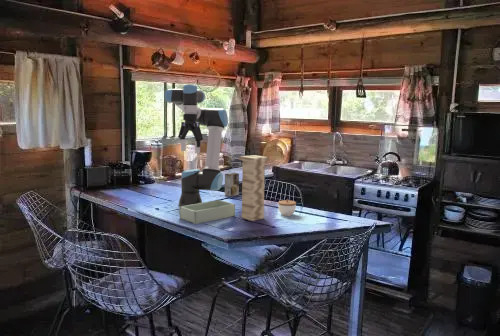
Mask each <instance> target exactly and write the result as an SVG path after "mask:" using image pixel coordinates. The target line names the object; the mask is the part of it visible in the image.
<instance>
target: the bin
mask: <svg viewBox="0 0 500 336" xmlns="http://www.w3.org/2000/svg"><path fill="white" fill-rule="evenodd" d="M213 207H215V208H213ZM235 216H236V203H233V202H228V201H225V200H221V199H217V200H211V201H205V202H202V203H198V204H192V205H186V206H179V219H180V220H183V221H185V222H188V223H190V224H193V225H197V224H203V223H207V222H211V221H216V220H221V219H227V218H230V217H235Z"/></svg>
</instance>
